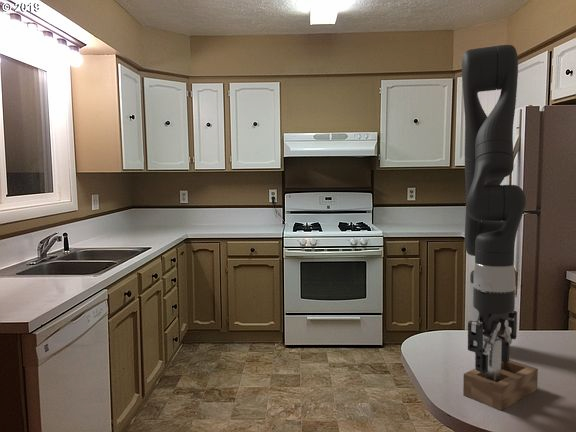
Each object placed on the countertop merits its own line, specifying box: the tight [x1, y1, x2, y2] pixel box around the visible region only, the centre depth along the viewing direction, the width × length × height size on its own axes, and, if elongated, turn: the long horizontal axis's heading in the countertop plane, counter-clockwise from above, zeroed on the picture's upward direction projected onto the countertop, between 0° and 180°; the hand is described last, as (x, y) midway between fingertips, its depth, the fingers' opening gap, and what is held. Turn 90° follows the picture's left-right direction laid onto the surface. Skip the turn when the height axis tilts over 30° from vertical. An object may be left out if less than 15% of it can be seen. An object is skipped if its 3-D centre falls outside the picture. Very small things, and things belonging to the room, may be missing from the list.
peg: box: [485, 337, 502, 382], centre depth 92 cm, size 3×3×12 cm
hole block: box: [462, 359, 539, 411], centre depth 94 cm, size 14×8×4 cm, turn 126°
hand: (492, 366), depth 92 cm, fingers open, 7 cm apart
